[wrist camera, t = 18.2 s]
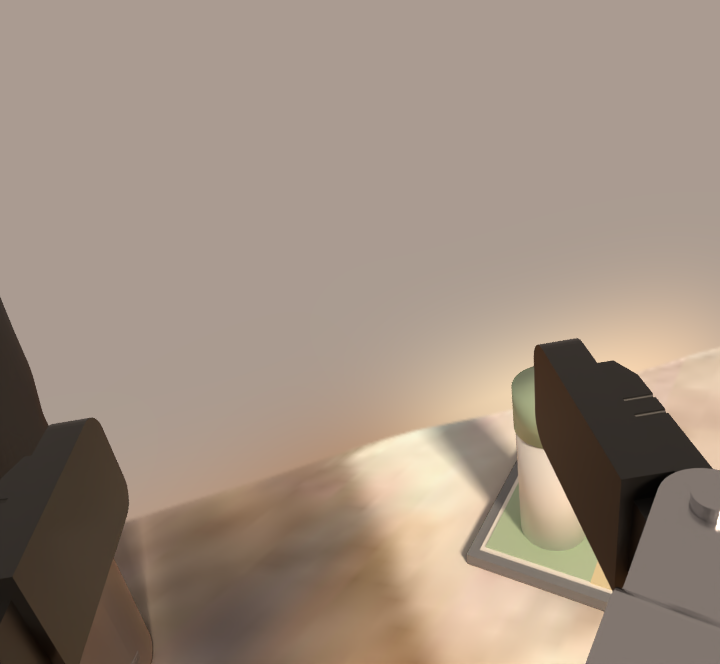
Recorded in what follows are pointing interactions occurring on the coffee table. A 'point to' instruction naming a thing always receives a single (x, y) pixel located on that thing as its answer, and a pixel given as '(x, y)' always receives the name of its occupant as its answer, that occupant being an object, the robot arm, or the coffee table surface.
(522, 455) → the marker
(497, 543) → the picture board
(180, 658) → the coffee table surface
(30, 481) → the robot arm
